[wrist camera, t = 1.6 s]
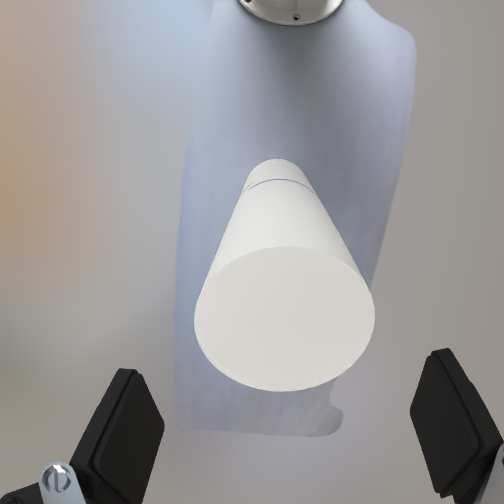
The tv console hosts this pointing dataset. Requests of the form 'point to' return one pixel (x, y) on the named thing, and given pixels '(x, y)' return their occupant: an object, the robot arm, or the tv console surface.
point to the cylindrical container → (282, 289)
